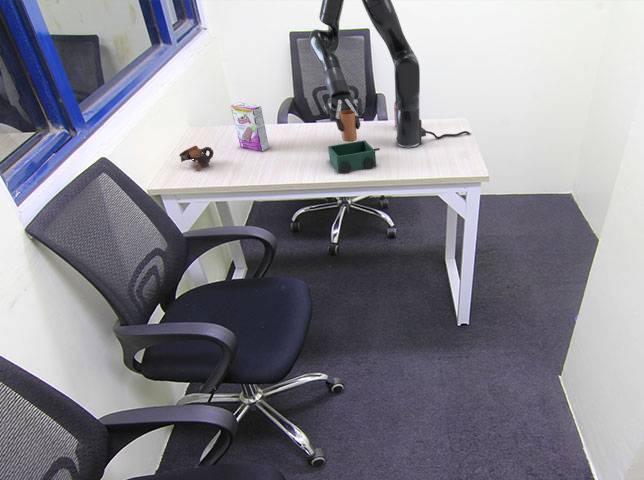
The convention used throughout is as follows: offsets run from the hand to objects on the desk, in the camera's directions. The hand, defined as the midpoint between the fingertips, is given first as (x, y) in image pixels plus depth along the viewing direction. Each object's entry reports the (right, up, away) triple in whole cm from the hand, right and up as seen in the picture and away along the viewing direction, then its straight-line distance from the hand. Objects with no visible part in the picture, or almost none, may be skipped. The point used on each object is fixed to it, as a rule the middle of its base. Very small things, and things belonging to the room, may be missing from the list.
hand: (350, 129), depth 182 cm
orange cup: (-1, -2, +4) cm, 5 cm away
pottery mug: (-58, -10, +10) cm, 60 cm away
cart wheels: (+2, -9, +11) cm, 14 cm away
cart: (0, -9, +10) cm, 14 cm away
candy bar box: (-42, +1, +23) cm, 48 cm away
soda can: (+18, +16, +39) cm, 46 cm away
